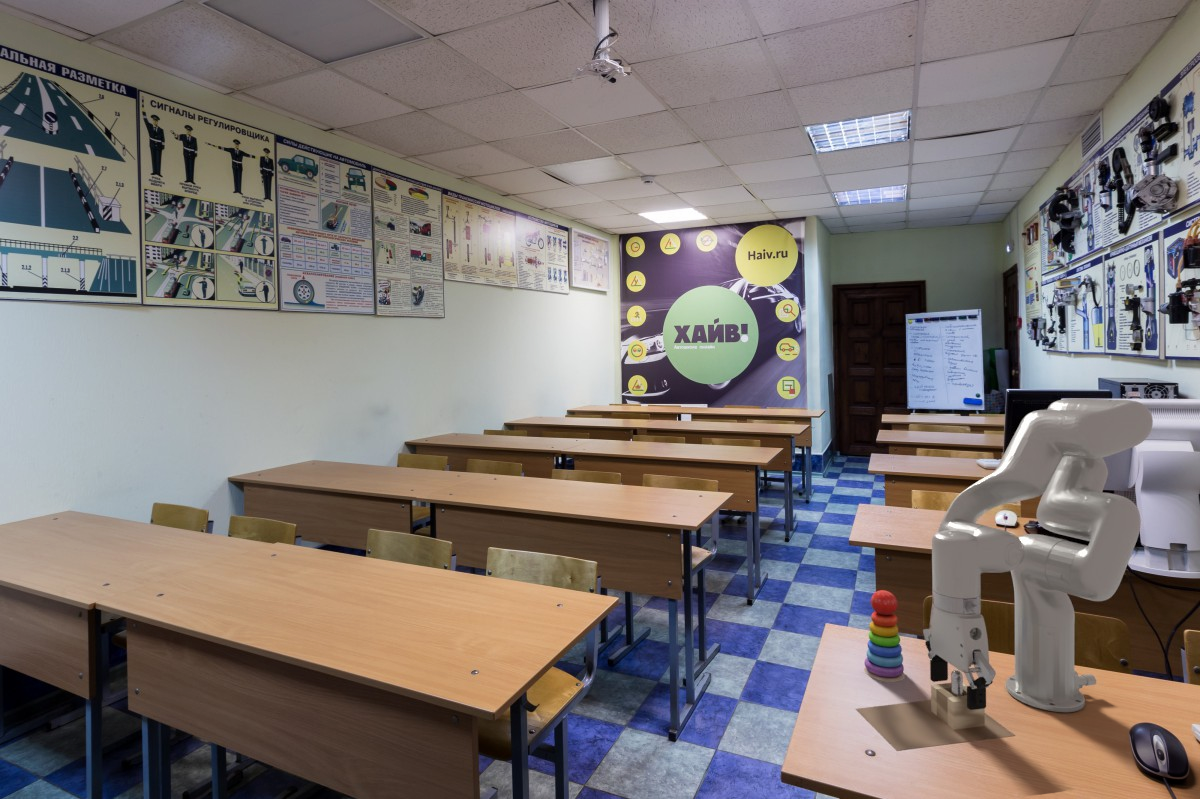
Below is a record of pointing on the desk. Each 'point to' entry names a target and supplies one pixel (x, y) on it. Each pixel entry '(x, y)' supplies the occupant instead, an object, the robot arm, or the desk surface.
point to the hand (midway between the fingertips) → (957, 693)
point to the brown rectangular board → (924, 726)
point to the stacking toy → (884, 640)
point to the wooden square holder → (954, 708)
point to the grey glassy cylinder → (956, 683)
